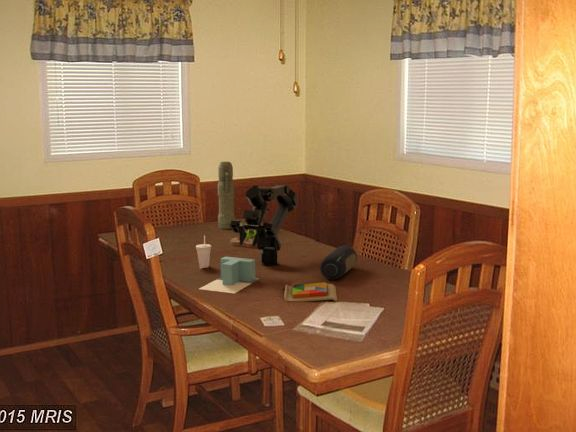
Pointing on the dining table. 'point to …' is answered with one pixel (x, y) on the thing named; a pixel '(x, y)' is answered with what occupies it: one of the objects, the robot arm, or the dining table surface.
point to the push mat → (226, 286)
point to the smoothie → (203, 254)
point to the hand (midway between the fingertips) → (246, 245)
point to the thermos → (225, 195)
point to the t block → (237, 270)
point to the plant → (247, 241)
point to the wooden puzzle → (310, 292)
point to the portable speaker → (338, 262)
